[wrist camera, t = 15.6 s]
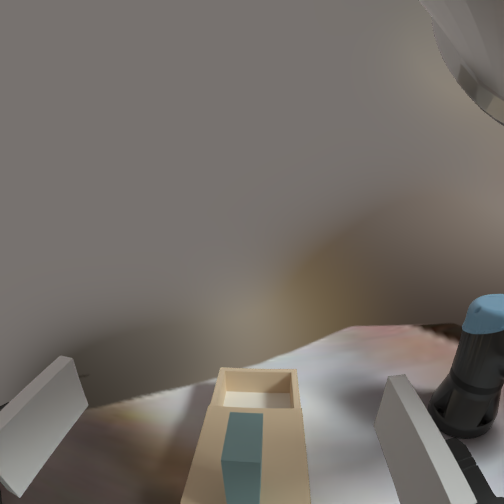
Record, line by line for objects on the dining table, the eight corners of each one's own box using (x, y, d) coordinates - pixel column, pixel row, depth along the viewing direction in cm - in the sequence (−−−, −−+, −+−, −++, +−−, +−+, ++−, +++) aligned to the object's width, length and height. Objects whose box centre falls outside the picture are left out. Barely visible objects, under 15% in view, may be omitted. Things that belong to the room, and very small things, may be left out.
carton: (300, 472, 34) (305, 449, 32) (203, 468, 35) (198, 444, 33) (294, 393, 53) (296, 369, 52) (222, 391, 54) (220, 367, 53)
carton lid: (311, 522, 21) (332, 460, 18) (178, 514, 21) (152, 450, 19) (301, 410, 40) (308, 341, 37) (208, 407, 41) (201, 338, 38)
